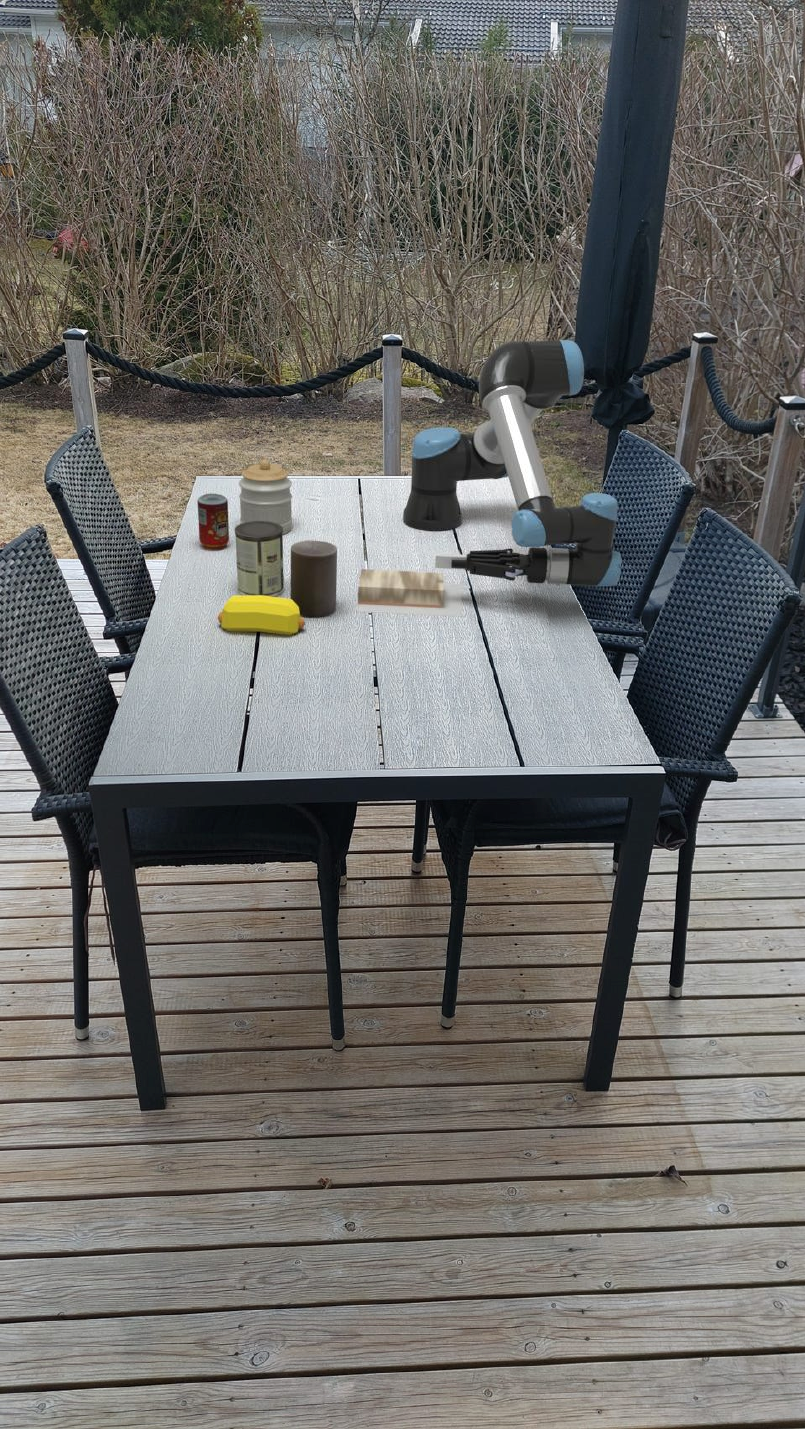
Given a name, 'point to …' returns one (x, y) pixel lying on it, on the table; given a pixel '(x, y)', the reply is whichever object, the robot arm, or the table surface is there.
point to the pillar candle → (314, 577)
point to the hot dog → (261, 614)
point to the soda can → (213, 521)
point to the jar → (266, 495)
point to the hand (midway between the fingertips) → (435, 560)
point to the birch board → (400, 588)
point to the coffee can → (259, 558)
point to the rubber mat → (449, 607)
